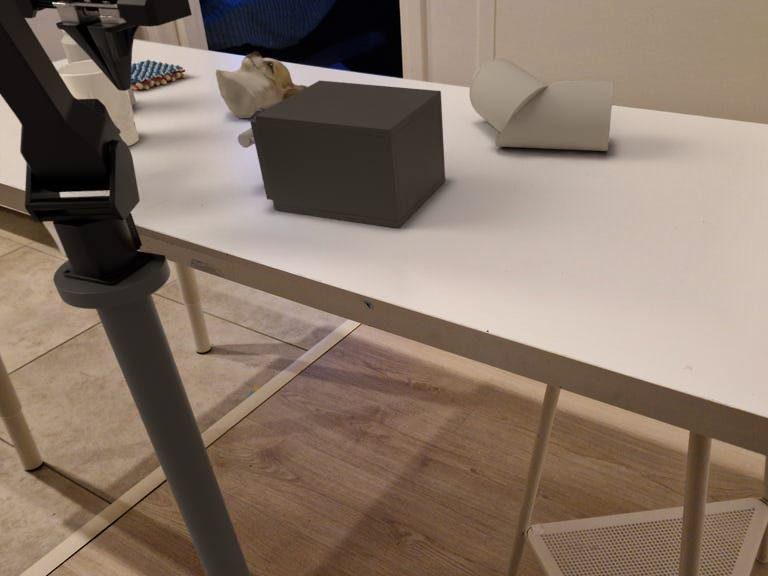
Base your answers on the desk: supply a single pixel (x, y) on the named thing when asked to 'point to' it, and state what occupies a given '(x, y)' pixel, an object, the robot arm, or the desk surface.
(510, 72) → the bent grey cylinder
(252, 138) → the drawer
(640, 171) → the desk surface
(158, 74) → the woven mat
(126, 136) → the white cup
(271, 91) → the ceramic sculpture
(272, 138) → the matte charcoal box
